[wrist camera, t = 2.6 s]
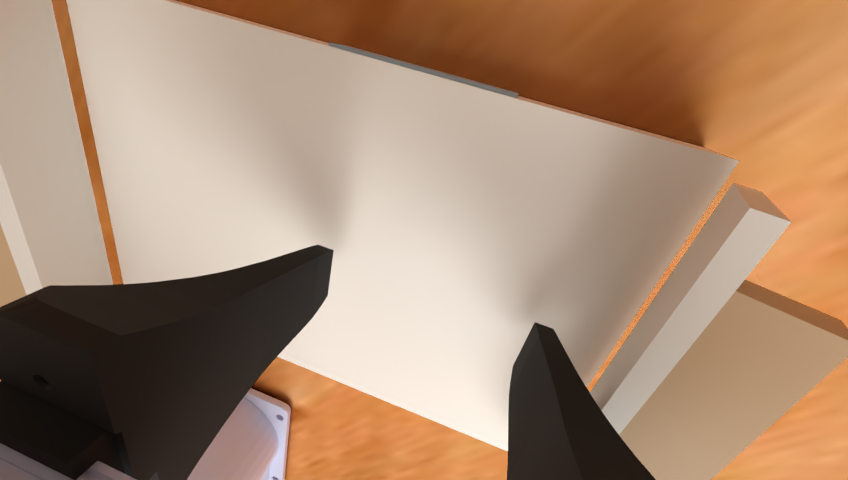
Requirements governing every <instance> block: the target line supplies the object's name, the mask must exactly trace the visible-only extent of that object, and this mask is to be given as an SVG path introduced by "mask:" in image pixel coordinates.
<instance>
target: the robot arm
mask: <svg viewBox="0 0 848 480" xmlns="http://www.w3.org/2000/svg"><path fill="white" fill-rule="evenodd" d="M333 251H334V250H332V249H329V248H326V247H323V246H321V245H314V246H311V247H307V248H304V249H301V250H298V251H294V252H291V253H288V254H285V255H282V256H279V257H275V258H272V259H269V260H266V261H262V262H259V263H255V264H251V265H247V266H244V267H240V268H236V269H232V270H228V271H223V272H219V273H214V274H208V275H203V276H197V277H191V278H183V279H175V280H167V281H159V282H148V283H136V284H118V285H50V286H47V287H44V288H42V289H40V290H37V291H35V292H33V293H31V294H28V295H26V296H24V297H22V298H19V299H17V300H15V301H13V302H10V303H8V304H6V305H4V306H1V307H0V379H1V382H0V480H285V469H286V458H287V447H288V436H289V425H290V414H291V409H290V407H289V405H288V404H286V403H285V402H282V401H280V400H278V399H275V398H273V397H271V396H268V395H266V394H264V393H261V392H259V391H257V390H254V389H252V388H251V387H252V386H253V384H254V383H255V382H256V380H257V379H258V378H259V376H260V375H261V374H262V373H263V372H264V370H265V369H266V368H267V367H268V366H269V365H270V364H271V362H272V361H273V360H274V359H275V358H276V357H277V356H278V355H279V354H280V353H281V352H282V351H283V350H284V348H285V347H286V346H287V345H288V344H289V343H290V342H291V341H292V340H293V339H294V338H295V337H296V336H297V334H298V333H299V332H300V331H301V330H302V329H303V328H304V327H305V326H306V325H307V324H308V322H309V321H310V320H311V319H312V318H313V316H314V315H315V314H316V312H317V311H318V310H319V308H320V307H321V305H322V304H323V302H324V301H325V299H326V298H327V296H328V289H329V282H330V274H331V267H332V259H333ZM507 480H656V479H655V478H654V477H653V476H652V475H651V473H650V472H649V471H648V470H647V469H646V468H645V466H644V465H643V464H642V463H641V462H640V461H639V460H638V458H637V457H636V456H635V455H634V453H633V452H632V451H631V450H630V449H629V447H628V446H627V445H626V443H625V442H624V441H623V439H622V438H621V437H620V436H619V434H618V433H617V432H616V430H615V429H614V428H613V426H612V425H611V424H610V422H609V421H608V419H607V418H606V417H605V415H604V414H603V412H602V411H601V409H600V408H599V406H598V405H597V403H596V402H595V400H594V399H593V397H592V396H591V394H590V392H589V391H588V389H587V388H586V386H585V384H584V383H583V381H582V379H581V378H580V376H579V374H578V373H577V371H576V369H575V367H574V366H573V364H572V362H571V360H570V358H569V356H568V355H567V353H566V351H565V349H564V347H563V345H562V344H561V342H560V340H559V338H558V336H557V334H556V332H555V331H554V329H553V328H550V327H547V326H544V325H541V324H539V323H536V322H535V323H534V325H533V327H532V329H531V331H530V333H529V335H528V337H527V339H526V341H525V343H524V345H523V347H522V349H521V351H520V353H519V355H518V357H517V359H516V361H515V363H514V365H513V368H512V375H511V381H510V389H509V407H508V470H507Z"/></svg>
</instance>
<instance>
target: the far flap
mask: <svg viewBox="0 0 848 480" xmlns="http://www.w3.org/2000/svg"><path fill="white" fill-rule="evenodd" d="M50 285H113V280H112V276H111V271H110V266H109V262H108V257H107V253H106V248H105V244H104V239H103V234H102V230H101V225H100V221H99V216H98V211H97V207H96V202H95V198H94V193H93V188H92V184H91V179H90V175H89V170H88V166H87V161H86V156H85V152H84V147H83V143H82V138H81V133H80V129H79V124H78V120H77V115H76V110H75V106H74V101H73V97H72V92H71V87H70V83H69V78H68V74H67V69H66V65H65V60H64V55H63V51H62V46H61V42H60V37H59V32H58V28H57V23H56V19H55V14H54V9H53V5H52V0H0V307H1V306H4V305H6V304H8V303H10V302H13V301H15V300H17V299H19V298H22V297H24V296H26V295H28V294H31V293H33V292H35V291H37V290H40V289H42V288H44V287H47V286H50Z"/></svg>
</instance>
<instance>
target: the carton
mask: <svg viewBox="0 0 848 480" xmlns="http://www.w3.org/2000/svg"><path fill="white" fill-rule="evenodd" d="M66 1H67V6H68V11H69V16H70V21H71V26H72V31H73V36H74V41H75V46H76V51H77V56H78V61H79V66H80V71H81V76H82V81H83V86H84V91H85V96H86V100H87V105H88V110H89V115H90V120H91V125H92V130H93V135H94V140H95V145H96V150H97V155H98V160H99V165H100V170H101V175H102V180H103V185H104V190H105V195H106V200H107V205H108V210H109V215H110V220H111V225H112V230H113V235H114V240H115V245H116V250H117V254H118V259H119V264H120V269H121V274H122V279H123V284H136V283H148V282H159V281H167V280H175V279H183V278H191V277H197V276H203V275H208V274H214V273H219V272H223V271H228V270H232V269H236V268H240V267H244V266H247V265H251V264H255V263H259V262H262V261H266V260H269V259H272V258H275V257H279V256H282V255H285V254H288V253H291V252H294V251H298V250H301V249H304V248H307V247H311V246H314V245H321V246H323V247H326V248H329V249H332V250H334V251H333V259H332V267H331V274H330V282H329V289H328V296H327V298H326V299H325V301H324V302H323V304H322V305H321V307H320V308H319V310H318V311H317V312H316V314H315V315H314V316H313V318H312V319H311V320H310V321H309V322H308V324H307V325H306V326H305V327H304V328H303V329H302V330H301V331H300V332H299V333H298V334H297V336H296V337H295V338H294V339H293V340H292V341H291V342H290V343H289V344H288V345H287V346H286V347H285V348H284V350H283V351H282V352H281V353H280V354H279V355H278V356H277V357H280V358H282V359H284V360H287V361H289V362H292V363H294V364H297V365H299V366H301V367H304V368H306V369H309V370H311V371H314V372H316V373H318V374H321V375H323V376H326V377H328V378H331V379H333V380H335V381H338V382H340V383H343V384H345V385H348V386H350V387H353V388H355V389H357V390H360V391H362V392H365V393H367V394H370V395H372V396H374V397H377V398H379V399H382V400H384V401H387V402H389V403H391V404H394V405H396V406H399V407H401V408H404V409H406V410H408V411H411V412H413V413H416V414H418V415H421V416H423V417H425V418H428V419H430V420H433V421H435V422H438V423H440V424H442V425H445V426H447V427H450V428H452V429H455V430H457V431H459V432H462V433H464V434H467V435H469V436H472V437H474V438H476V439H479V440H481V441H484V442H486V443H489V444H491V445H493V446H496V447H498V448H501V449H503V450H506V451H508V407H509V389H510V381H511V375H512V368H513V365H514V363H515V361H516V359H517V357H518V355H519V353H520V351H521V349H522V347H523V345H524V343H525V341H526V339H527V337H528V335H529V333H530V331H531V329H532V327H533V325H534V323H535V322H536V323H539V324H541V325H544V326H547V327H550V328H553V329H554V331H555V332H556V334H557V336H558V338H559V340H560V342H561V344H562V345H563V347H564V349H565V351H566V353H567V355H568V356H569V358H570V360H571V362H572V364H573V366H574V367H575V369H576V371H577V373H578V374H579V376H580V378H581V379H582V381H583V383H584V384H585V386H586V388H587V387H588V385H589V384H590V382H591V381H592V379H593V378H594V376H595V375H596V373H597V372H598V370H599V369H600V367H601V366H602V364H603V363H604V362H605V360H606V359H607V357H608V356H609V354H610V353H611V351H612V350H613V348H614V347H615V345H616V344H617V342H618V341H619V339H620V338H621V336H622V335H623V333H624V332H625V330H626V329H627V327H628V326H629V324H630V323H631V321H632V320H633V318H634V317H635V315H636V314H637V312H638V311H639V309H640V308H641V306H642V305H643V303H644V302H645V300H646V299H647V297H648V296H649V294H650V293H651V291H652V290H653V289H654V287H655V286H656V284H657V283H658V281H659V280H660V278H661V277H662V275H663V274H664V272H665V271H666V269H667V268H668V266H669V265H670V263H671V262H672V260H673V259H674V257H675V256H676V254H677V253H678V251H679V250H680V248H681V247H682V245H683V244H684V242H685V241H686V239H687V238H688V236H689V235H690V233H691V232H692V230H693V229H694V227H695V226H696V224H697V223H698V221H699V220H700V219H701V217H702V216H703V214H704V213H705V211H706V210H707V208H708V207H709V205H710V204H711V202H712V201H713V199H714V198H715V196H716V195H717V193H718V192H719V190H720V189H721V187H722V186H723V184H724V183H725V181H726V180H727V178H728V177H729V175H730V174H731V172H732V171H733V169H734V168H735V166H736V165H737V163H738V162H739V161H738V160H735V159H733V158H730V157H728V156H725V155H723V154H720V153H717V152H715V151H712V150H710V149H707V148H704V147H701V146H697V145H693V144H690V143H686V142H683V141H679V140H675V139H672V138H668V137H665V136H661V135H658V134H654V133H650V132H647V131H643V130H640V129H636V128H632V127H629V126H625V125H622V124H618V123H614V122H611V121H607V120H604V119H600V118H596V117H593V116H589V115H586V114H582V113H578V112H575V111H571V110H568V109H564V108H561V107H557V106H553V105H550V104H546V103H543V102H539V101H535V100H532V99H528V98H525V97H521V96H518V94H519V93H517V92H514V91H510V90H506V89H503V88H499V87H496V86H492V85H488V84H485V83H481V82H478V81H474V80H470V79H467V78H463V77H459V76H456V75H452V74H449V73H445V72H441V71H438V70H434V69H431V68H427V67H423V66H420V65H416V64H413V63H409V62H405V61H402V60H398V59H395V58H391V57H387V56H384V55H380V54H377V53H373V52H369V51H366V50H362V49H358V48H355V47H351V46H347V45H342V44H336V43H331V42H329V43H327V42H323V41H320V40H316V39H313V38H309V37H305V36H302V35H298V34H295V33H291V32H287V31H284V30H280V29H277V28H273V27H269V26H266V25H262V24H259V23H255V22H251V21H248V20H244V19H241V18H237V17H234V16H230V15H226V14H223V13H219V12H216V11H212V10H208V9H205V8H201V7H198V6H194V5H190V4H187V3H183V2H180V1H176V0H66Z"/></svg>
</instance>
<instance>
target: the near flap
mask: <svg viewBox="0 0 848 480" xmlns="http://www.w3.org/2000/svg"><path fill="white" fill-rule="evenodd" d="M790 223H791V221H790V220H789V219H788V218H787V217H786V216H785V215H784V214H783V213H782V212H781V211H780V210H779V209H778V208H777V207H776V206H775V205H774V204H773V203H772V202H771V201H770V200H769V199H768V198H767V197H766V196H765V195H764V194H763V193H762V192H760V191H757V190H754V189H751V188H748V187H745V186H742V185H739V184H736V183H733V184H732V186H731V187H730V189H729V190H728V192H727V193H726V195H725V196H724V197H723V199H722V200H721V202H720V203H719V205H718V206H717V208H716V209H715V211H714V212H713V214H712V215H711V216H710V218H709V219H708V221H707V222H706V224H705V225H704V227H703V228H702V230H701V231H700V233H699V234H698V235H697V237H696V238H695V240H694V241H693V243H692V244H691V246H690V247H689V249H688V250H687V252H686V253H685V254H684V256H683V257H682V259H681V260H680V262H679V263H678V265H677V266H676V268H675V269H674V271H673V272H672V273H671V275H670V276H669V278H668V279H667V281H666V282H665V284H664V285H663V287H662V288H661V290H660V291H659V292H658V294H657V295H656V297H655V298H654V300H653V301H652V303H651V304H650V306H649V307H648V309H647V310H646V311H645V313H644V314H643V316H642V317H641V319H640V320H639V322H638V323H637V325H636V326H635V328H634V329H633V330H632V332H631V333H630V335H629V336H628V338H627V339H626V341H625V342H624V344H623V345H622V347H621V348H620V349H619V351H618V352H617V354H616V355H615V357H614V358H613V360H612V361H611V363H610V364H609V366H608V367H607V368H606V370H605V371H604V373H603V374H602V376H601V377H600V379H599V380H598V382H597V383H596V385H595V386H594V387H593V389H592V390H591V392H590V394H591V396H592V397H593V399H594V400H595V402H596V403H597V405H598V406H599V408H600V409H601V411H602V412H603V414H604V415H605V417H606V418H607V419H608V421H609V422H610V424H611V425H612V426H613V428H614V429H615V430H616V432H617V433H618V434H619V436H620V437H621V438H622V439H623V441H624V442H625V443H626V445H627V446H628V447H629V449H630V450H631V451H632V452H633V453H634V455H635V456H636V457H637V458H638V460H639V461H640V462H641V463H642V464H643V465H644V466H645V468H646V469H647V470H648V471H649V472H650V473H651V475H652V476H653V477H654V478H655V479H656V480H711V479H712V478H713V477H714V476H716V475H717V474H718V473H719V472H720V471H721V470H722V469H723V468H725V467H726V466H727V465H728V464H729V463H730V462H731V461H732V460H733V459H735V458H736V457H737V456H738V455H739V454H740V453H741V452H742V451H744V450H745V449H746V448H747V447H748V446H749V445H750V444H751V443H752V442H754V441H755V440H756V439H757V438H758V437H759V436H760V435H761V434H763V433H764V432H765V431H766V430H767V429H768V428H769V427H770V426H771V425H773V424H774V423H775V422H776V421H777V420H778V419H779V418H780V417H782V416H783V415H784V414H785V413H786V412H787V411H788V410H789V409H790V408H792V407H793V406H794V405H795V404H796V403H797V402H798V401H799V400H801V399H802V398H803V397H804V396H805V395H806V394H807V393H808V392H810V391H811V390H812V389H813V388H814V387H815V386H816V385H817V384H818V383H820V382H821V381H822V380H823V379H824V378H825V377H826V376H827V375H829V374H830V373H831V372H832V371H833V370H834V369H835V368H836V367H837V366H839V365H840V364H841V363H842V362H843V361H844V360H845V359H846V358H848V329H847V327H846V326H845V325H844V323H843V322H842V321H841V320H839V319H837V318H834V317H832V316H830V315H827V314H825V313H822V312H820V311H818V310H815V309H813V308H811V307H808V306H806V305H804V304H801V303H799V302H796V301H794V300H792V299H789V298H787V297H785V296H782V295H780V294H778V293H775V292H773V291H770V290H768V289H766V288H763V287H761V286H759V285H756V284H754V283H752V282H749V281H747V280H745V279H746V278H747V276H748V275H749V274H750V273H751V271H752V270H753V269H754V268H755V266H756V265H757V264H758V263H759V262H760V260H761V259H762V258H763V257H764V255H765V254H766V253H767V252H768V250H769V249H770V248H771V247H772V245H773V244H774V243H775V242H776V241H777V239H778V238H779V237H780V236H781V234H782V233H783V232H784V231H785V229H786V228H787V227H788V226H789V224H790Z"/></svg>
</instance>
